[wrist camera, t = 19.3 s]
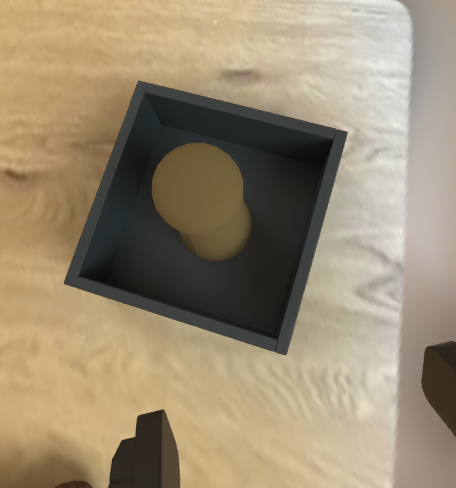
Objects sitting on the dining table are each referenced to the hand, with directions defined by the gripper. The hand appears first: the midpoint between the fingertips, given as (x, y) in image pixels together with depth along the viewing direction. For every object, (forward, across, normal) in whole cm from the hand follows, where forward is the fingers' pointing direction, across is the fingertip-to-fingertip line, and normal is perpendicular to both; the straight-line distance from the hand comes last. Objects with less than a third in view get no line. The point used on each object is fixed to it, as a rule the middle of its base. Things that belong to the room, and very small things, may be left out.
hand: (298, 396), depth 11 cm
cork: (+20, 0, +3) cm, 21 cm away
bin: (+21, 0, +3) cm, 21 cm away
